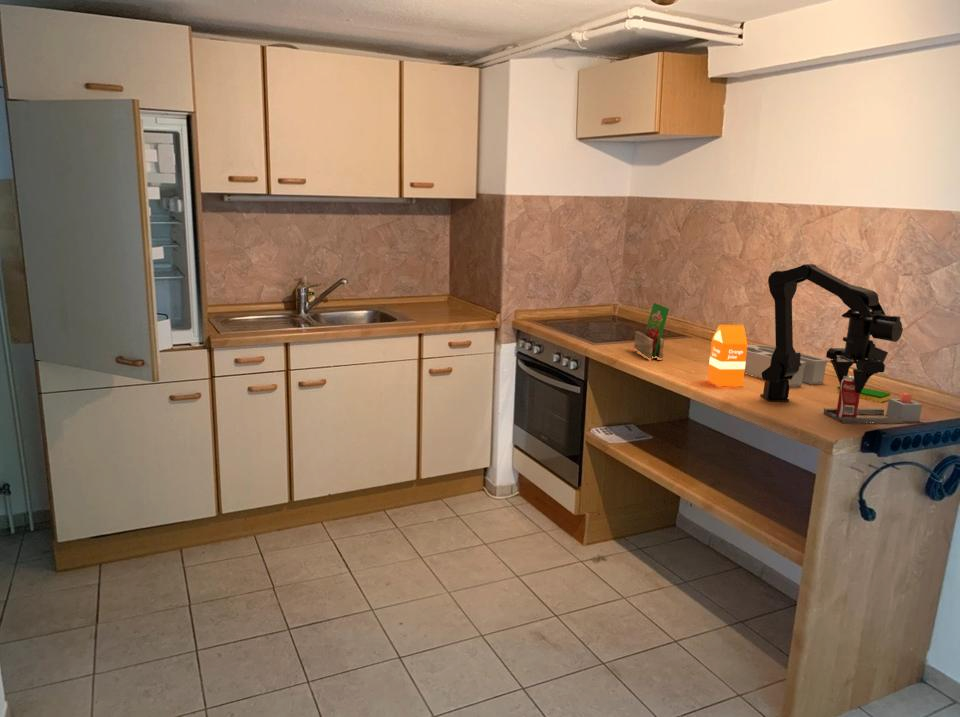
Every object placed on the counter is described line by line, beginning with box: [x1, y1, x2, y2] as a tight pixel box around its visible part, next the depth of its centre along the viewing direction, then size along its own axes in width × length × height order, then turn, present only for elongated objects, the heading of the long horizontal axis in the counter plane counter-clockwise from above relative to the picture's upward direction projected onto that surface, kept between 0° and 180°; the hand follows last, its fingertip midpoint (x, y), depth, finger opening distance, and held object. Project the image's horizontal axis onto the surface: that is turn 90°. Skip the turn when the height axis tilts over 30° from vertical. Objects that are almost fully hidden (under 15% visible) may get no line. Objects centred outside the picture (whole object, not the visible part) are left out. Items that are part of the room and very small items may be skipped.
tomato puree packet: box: [643, 302, 670, 357], centre depth 283 cm, size 15×1×20 cm, turn 9°
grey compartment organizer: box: [744, 344, 828, 388], centre depth 259 cm, size 17×28×9 cm, turn 27°
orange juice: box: [707, 324, 749, 387], centre depth 244 cm, size 8×9×20 cm
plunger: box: [899, 392, 913, 403], centre depth 213 cm, size 3×3×5 cm
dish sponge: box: [836, 385, 891, 403], centre depth 237 cm, size 7×14×2 cm, turn 39°
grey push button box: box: [886, 398, 923, 422], centre depth 213 cm, size 6×6×5 cm
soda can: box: [836, 375, 861, 417], centre depth 210 cm, size 5×5×12 cm
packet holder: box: [633, 330, 665, 359], centre depth 284 cm, size 5×17×8 cm, turn 7°
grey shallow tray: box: [823, 408, 904, 424], centre depth 212 cm, size 18×9×2 cm, turn 97°
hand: (850, 389), depth 210 cm, fingers open, 7 cm apart
